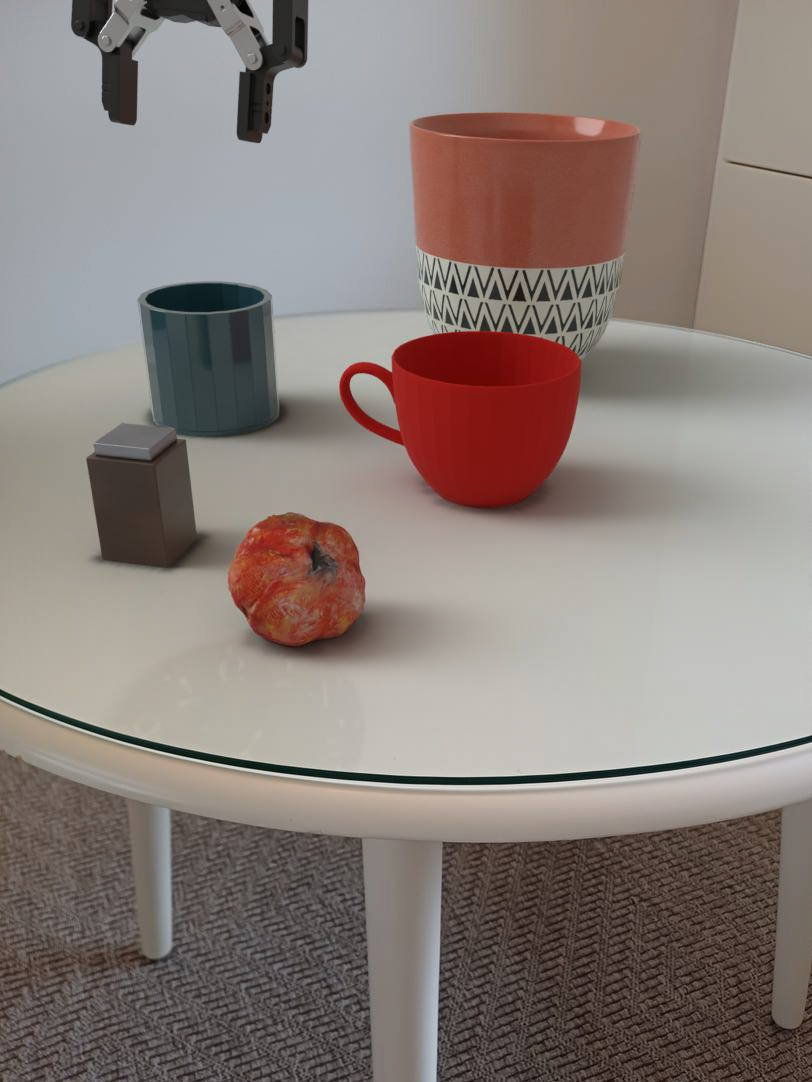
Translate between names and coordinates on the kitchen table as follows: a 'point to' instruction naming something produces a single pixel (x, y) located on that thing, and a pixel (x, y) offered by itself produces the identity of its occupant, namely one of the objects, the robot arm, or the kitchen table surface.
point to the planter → (522, 222)
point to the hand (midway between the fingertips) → (185, 132)
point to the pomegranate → (297, 579)
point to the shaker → (142, 495)
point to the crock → (210, 357)
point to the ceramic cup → (478, 411)
